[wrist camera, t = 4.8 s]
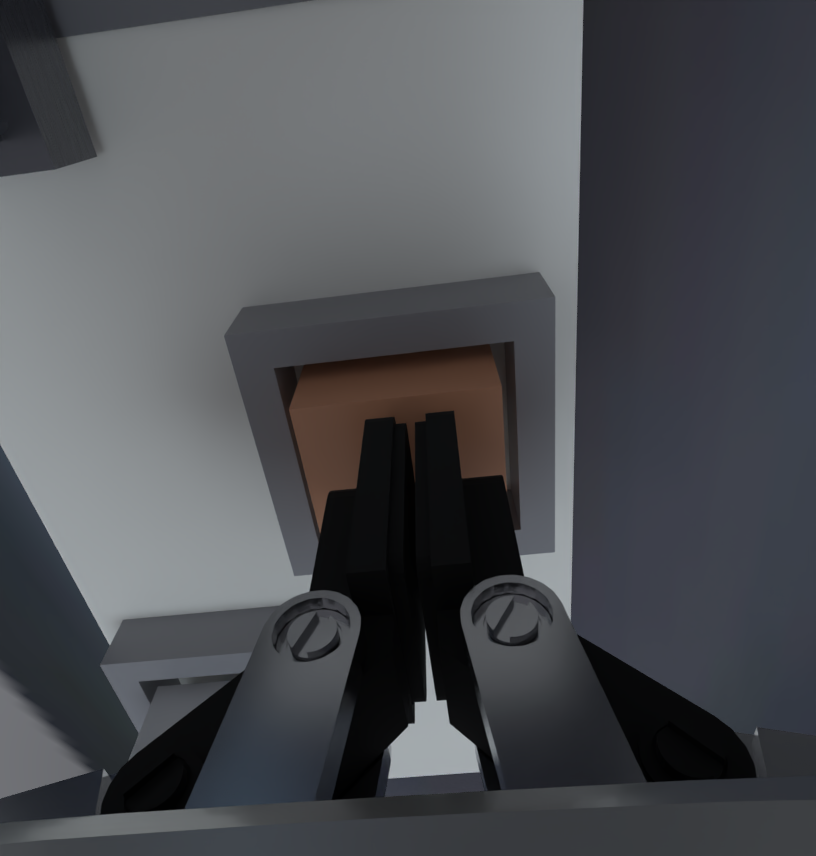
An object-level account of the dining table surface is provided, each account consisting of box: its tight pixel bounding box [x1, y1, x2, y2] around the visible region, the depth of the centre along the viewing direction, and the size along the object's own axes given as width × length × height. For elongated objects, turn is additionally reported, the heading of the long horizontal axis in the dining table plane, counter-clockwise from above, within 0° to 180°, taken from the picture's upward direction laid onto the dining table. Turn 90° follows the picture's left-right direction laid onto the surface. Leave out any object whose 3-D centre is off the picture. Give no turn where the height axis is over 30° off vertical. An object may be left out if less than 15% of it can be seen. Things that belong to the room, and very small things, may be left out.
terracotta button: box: [289, 344, 507, 532], centre depth 13 cm, size 4×4×2 cm
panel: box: [0, 0, 583, 778], centre depth 16 cm, size 14×30×5 cm, turn 7°
